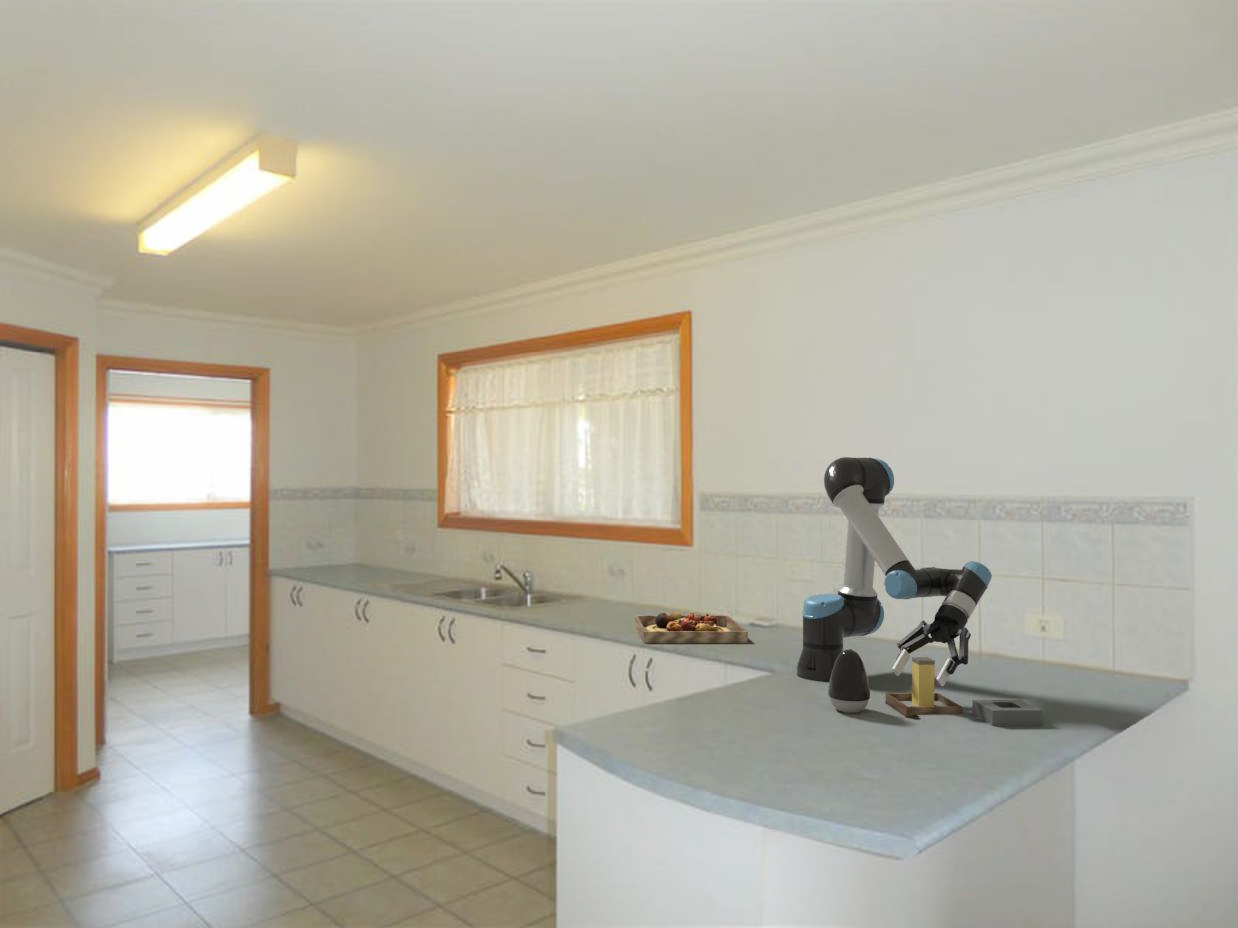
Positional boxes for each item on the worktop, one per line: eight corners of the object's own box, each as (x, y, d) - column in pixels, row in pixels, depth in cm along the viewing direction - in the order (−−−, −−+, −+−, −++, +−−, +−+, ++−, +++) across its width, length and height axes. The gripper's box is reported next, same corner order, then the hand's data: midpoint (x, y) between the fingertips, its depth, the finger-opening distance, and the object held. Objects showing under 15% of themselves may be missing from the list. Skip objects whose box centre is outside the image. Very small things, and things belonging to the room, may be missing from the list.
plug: (918, 709, 219) (919, 660, 220) (911, 704, 224) (911, 657, 224) (934, 708, 220) (934, 660, 220) (927, 704, 224) (927, 657, 224)
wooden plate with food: (719, 645, 306) (719, 621, 307) (633, 637, 318) (633, 614, 318) (739, 632, 336) (740, 611, 337) (660, 626, 348) (661, 605, 348)
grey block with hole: (992, 729, 204) (992, 710, 204) (972, 718, 214) (972, 699, 214) (1042, 729, 205) (1042, 710, 205) (1020, 717, 215) (1020, 699, 215)
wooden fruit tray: (643, 643, 308) (643, 631, 308) (634, 625, 345) (634, 615, 345) (747, 642, 310) (747, 631, 310) (728, 625, 347) (728, 615, 347)
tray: (906, 717, 214) (906, 707, 214) (885, 702, 228) (885, 693, 228) (962, 717, 215) (962, 706, 215) (938, 702, 229) (938, 692, 229)
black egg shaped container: (871, 707, 223) (871, 647, 224) (868, 717, 213) (869, 654, 214) (830, 703, 227) (830, 644, 227) (826, 713, 217) (826, 651, 217)
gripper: (1004, 628, 220) (966, 697, 211) (921, 615, 240) (884, 677, 232) (991, 609, 217) (953, 677, 208) (908, 597, 238) (870, 659, 229)
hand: (916, 677), depth 220 cm, fingers open, 13 cm apart
